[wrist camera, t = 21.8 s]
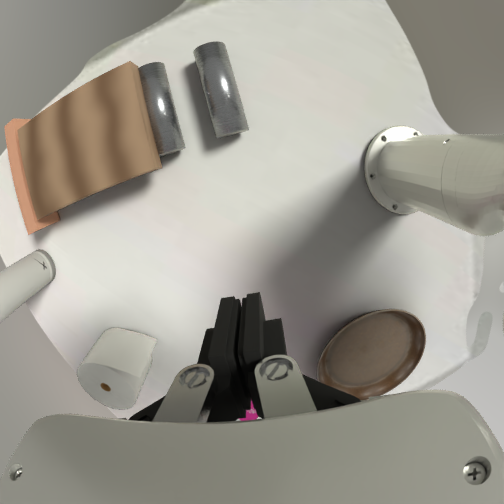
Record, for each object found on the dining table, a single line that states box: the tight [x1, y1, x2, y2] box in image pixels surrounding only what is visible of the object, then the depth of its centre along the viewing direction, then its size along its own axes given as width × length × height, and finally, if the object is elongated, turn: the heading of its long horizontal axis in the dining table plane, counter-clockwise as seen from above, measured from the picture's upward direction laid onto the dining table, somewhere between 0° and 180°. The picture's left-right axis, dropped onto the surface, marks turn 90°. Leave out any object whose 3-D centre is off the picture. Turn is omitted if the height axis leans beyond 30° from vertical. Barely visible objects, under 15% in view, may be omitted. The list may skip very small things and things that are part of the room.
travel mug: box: [0, 249, 55, 323], centre depth 30 cm, size 6×7×20 cm
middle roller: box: [138, 62, 185, 157], centre depth 30 cm, size 4×12×4 cm, turn 15°
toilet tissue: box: [77, 328, 157, 410], centre depth 40 cm, size 11×12×10 cm
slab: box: [17, 61, 162, 220], centre depth 29 cm, size 20×14×2 cm
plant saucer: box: [317, 309, 426, 400], centre depth 43 cm, size 21×21×3 cm
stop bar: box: [5, 119, 60, 235], centre depth 31 cm, size 2×18×6 cm, turn 14°
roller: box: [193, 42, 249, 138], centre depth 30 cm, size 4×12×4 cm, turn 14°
